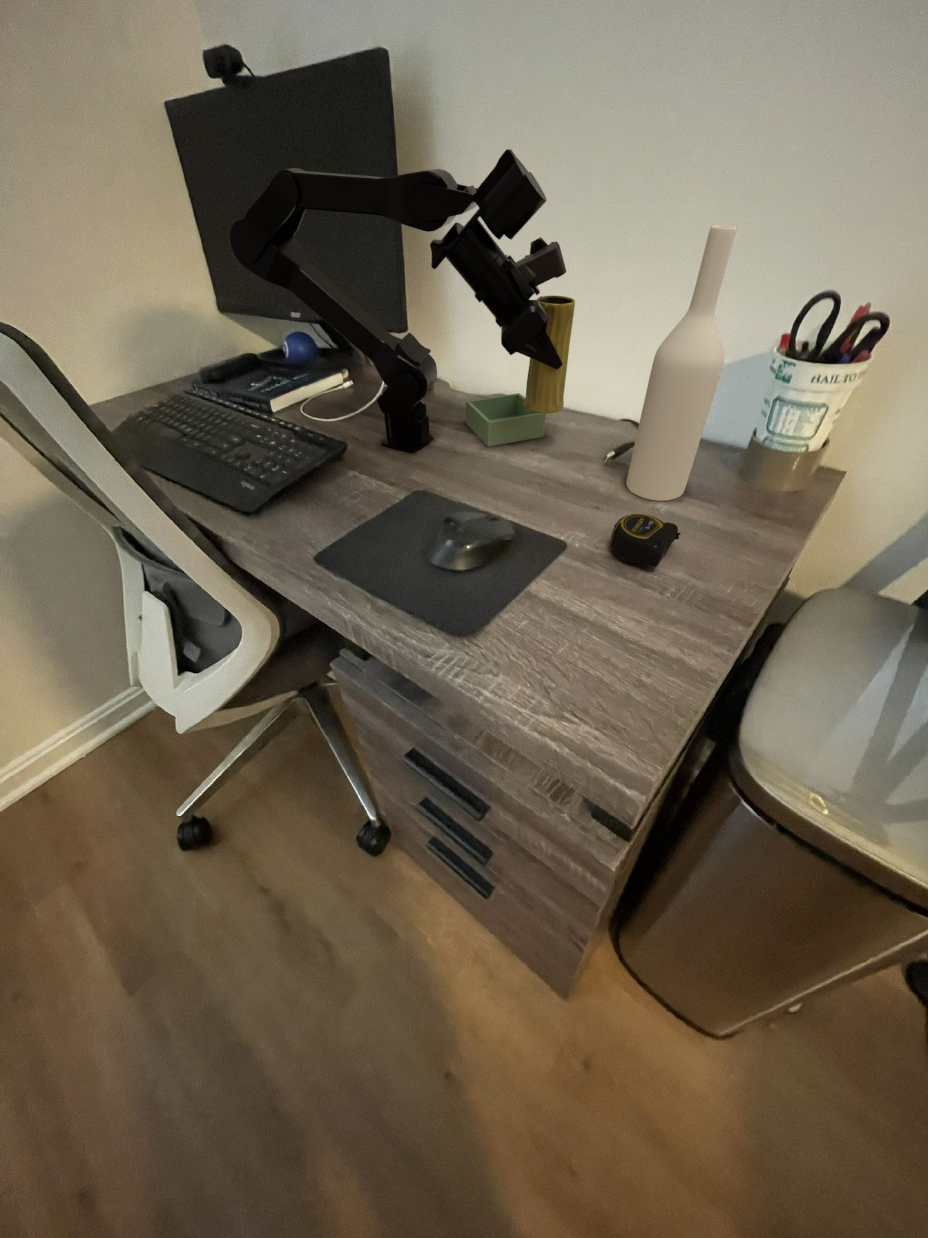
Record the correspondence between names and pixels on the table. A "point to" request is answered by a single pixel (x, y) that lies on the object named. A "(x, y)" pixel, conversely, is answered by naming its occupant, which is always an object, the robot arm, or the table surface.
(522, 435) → the green open-top tray
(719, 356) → the bottle
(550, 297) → the vase
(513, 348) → the robot arm
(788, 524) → the table surface
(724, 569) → the table surface
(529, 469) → the table surface
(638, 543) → the tape measure
